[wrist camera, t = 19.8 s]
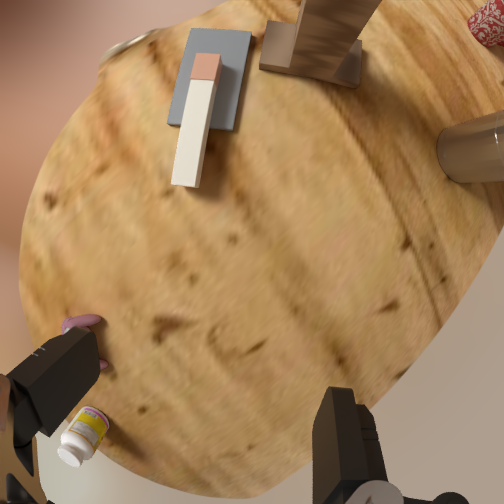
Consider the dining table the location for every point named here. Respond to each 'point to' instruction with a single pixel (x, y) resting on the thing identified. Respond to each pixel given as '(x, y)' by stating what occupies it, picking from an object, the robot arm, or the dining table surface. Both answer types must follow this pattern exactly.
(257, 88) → the dining table surface
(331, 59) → the stand
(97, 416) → the supplement bottle
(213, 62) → the block
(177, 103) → the board
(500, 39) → the mug
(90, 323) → the video game controller
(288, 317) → the dining table surface
